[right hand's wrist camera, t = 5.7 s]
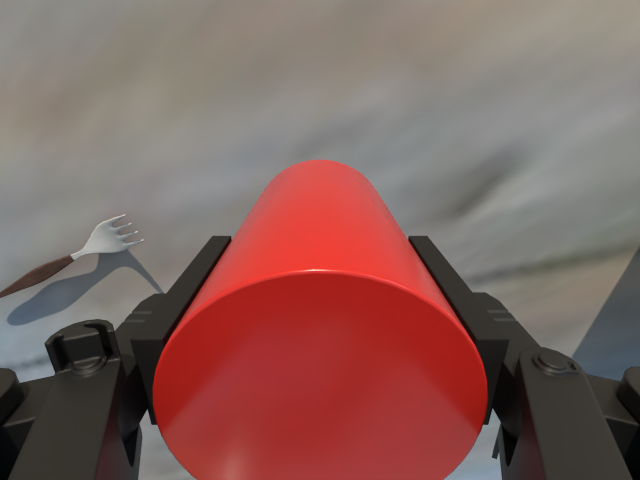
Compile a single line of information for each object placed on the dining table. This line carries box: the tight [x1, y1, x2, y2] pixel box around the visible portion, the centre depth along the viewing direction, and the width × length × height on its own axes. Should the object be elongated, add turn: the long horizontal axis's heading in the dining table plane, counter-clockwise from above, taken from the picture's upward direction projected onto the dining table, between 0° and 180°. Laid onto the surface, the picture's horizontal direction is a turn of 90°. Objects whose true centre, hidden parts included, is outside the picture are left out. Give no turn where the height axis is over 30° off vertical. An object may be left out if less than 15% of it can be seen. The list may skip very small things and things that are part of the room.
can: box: [153, 160, 488, 480], centre depth 13 cm, size 7×7×13 cm
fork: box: [0, 214, 144, 298], centre depth 26 cm, size 3×16×2 cm, turn 116°
